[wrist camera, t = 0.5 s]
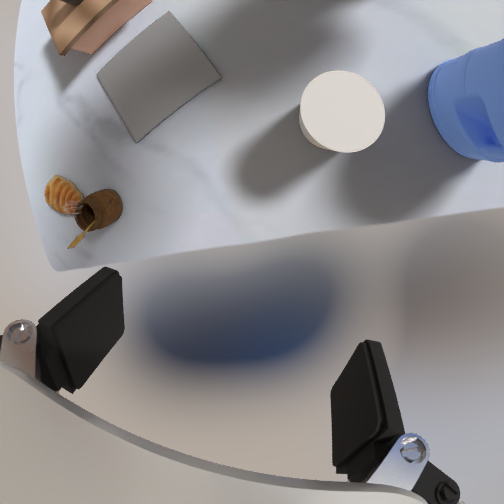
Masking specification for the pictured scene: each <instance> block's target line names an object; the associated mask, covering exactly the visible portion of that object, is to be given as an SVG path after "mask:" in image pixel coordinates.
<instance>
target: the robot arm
mask: <svg viewBox="0 0 504 504" xmlns="http://www.w3.org/2000/svg"><path fill="white" fill-rule="evenodd" d="M38 322H39V324H38V325H37V326H35V324H33V323H32V322H31V321H29V320H23V319H21V320H16V321H14V322H12V323H10V324H9V325H8V326H7V327H6V329H5V331H4V333H3V335H0V504H464V502H463V501H462V502H460V503H459V502H458V501H459V499H460V490H459V487H458V485H457V483H456V482H455V481H454V480H452V479H451V478H450V477H448V476H447V475H446V474H444V473H443V472H442V471H441V470H439V469H438V468H437V467H435V466H434V465H433V464H432V463H430V462H429V461H428V458H429V455H430V452H429V451H430V450H429V447H428V444H427V443H426V441H425V440H424V439H423V438H422V437H421V436H419V435H417V434H413V433H408V434H407V433H406V434H405V431H404V426H403V422H402V418H401V413H400V409H399V405H398V401H397V397H396V393H395V390H394V386H393V382H392V379H391V375H390V372H389V368H388V365H387V362H386V358H385V355H384V352H383V349H382V346H381V343H380V342H377V341H371V340H365V341H364V342H363V343H362V342H361V343H359V345H358V346H357V348H356V350H355V351H354V353H353V355H352V356H351V358H350V360H349V362H348V363H347V365H346V366H345V368H344V370H343V371H342V373H341V375H340V376H339V378H338V379H337V381H336V382H335V384H334V386H333V387H332V390H331V417H332V457H333V458H332V460H333V462H332V463H333V466H336V473H337V474H348V481H347V482H333V481H319V480H307V479H298V478H289V477H282V476H275V475H269V474H263V473H257V472H252V471H247V470H242V469H238V468H233V467H229V466H225V465H221V464H217V463H214V462H210V461H206V460H202V459H200V458H196V457H193V456H190V455H187V454H184V453H181V452H178V451H175V450H172V449H169V448H167V447H164V446H161V445H159V444H156V443H153V442H151V441H149V440H146V439H144V438H141V437H139V436H137V435H134V434H132V433H130V432H128V431H126V430H123V429H121V428H119V427H117V426H115V425H113V424H111V423H109V422H107V421H105V420H103V419H101V418H99V417H97V416H95V415H94V414H92V413H90V412H88V411H86V410H85V409H83V408H81V407H79V406H78V405H76V404H74V403H73V402H71V401H69V400H67V399H66V398H64V397H63V396H61V395H59V390H60V389H61V387H62V388H64V389H65V390H67V391H69V392H70V393H72V394H73V392H74V391H75V390H76V389H80V388H81V387H82V386H83V385H84V383H85V382H86V381H87V379H88V378H89V377H90V375H91V374H92V373H93V371H94V370H95V369H96V368H97V366H98V365H99V364H100V362H101V361H102V360H103V359H104V357H105V356H106V355H107V354H108V352H109V351H110V350H111V349H112V347H113V346H114V345H115V344H116V342H117V341H118V340H119V339H120V337H121V336H122V335H123V333H124V313H123V297H122V277H121V276H120V275H119V272H118V271H116V270H114V269H111V268H108V267H103V268H102V269H101V270H99V271H98V272H97V273H96V274H94V275H93V276H92V277H90V278H89V279H88V280H87V281H85V282H84V283H83V284H81V285H80V286H79V287H78V288H76V289H75V290H74V291H73V292H71V293H70V294H69V295H68V296H66V297H65V298H64V299H63V300H62V301H61V302H60V303H58V304H57V305H56V306H54V307H53V308H52V309H51V310H50V311H49V312H47V313H46V314H45V315H44V316H43V317H42V318H41V319H39V321H38Z"/></svg>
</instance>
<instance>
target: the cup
mask: <svg viewBox="0 0 504 504" xmlns="http://www.w3.org/2000/svg"><path fill="white" fill-rule="evenodd" d="M384 122H385V109H384V105H383V102H382V99H381V97H380V95H379V93H378V92H377V90H376V89H375V88H374V87H373V85H372V84H371V83H369V82H368V81H367V80H366V79H364V78H363V77H361V76H359V75H357V74H355V73H352V72H348V71H341V70H336V71H329V72H325V73H323V74H320V75H319V76H317V77H315V78H314V79H313V80H312V81H311V82H310V83H309V84H308V85H307V87H306V88H305V90H304V92H303V94H302V98H301V103H300V113H299V124H300V128H301V130H302V133H303V134H304V136H305V137H306V138H307V139H308V141H310V142H311V143H312V144H313V145H315V146H317V147H319V148H322V149H327V150H332V151H338V152H346V153H349V152H357V151H360V150H363V149H365V148H367V147H369V146H370V145H371V144H373V143H374V142H375V141H376V140H377V138H378V137H379V135H380V134H381V132H382V130H383V127H384Z"/></svg>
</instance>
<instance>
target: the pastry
mask: <svg viewBox="0 0 504 504" xmlns="http://www.w3.org/2000/svg"><path fill="white" fill-rule="evenodd" d="M45 198H46V202H47V203H48V205H50V206H51V207H52V208H54V209H55V210H56V211H59V212H61V213H64V214H72V213H74V211H75V210H74V209H75V208H74V207H76V205H75V204H77V203H78V201H81V200H82V199H84V198H83V195H82V193H81V192H80V191H79V190H78V189H77V188H76V186H75V184H74V183H72V182H70V181H69V180H67V179H66V178H64V177H61V176H59V175H55V176H54V177H53V178H52V179H51V180H50V182H49V183H48V184H47V186H46V189H45ZM69 201H70V202H69ZM72 202H74V203H72ZM65 204H66V205H65ZM68 204H71V205H68ZM64 205H65V206H64ZM67 205H68V206H67ZM66 206H67V207H66ZM63 207H64V208H63ZM65 208H66V211H65V212H66V213H65V212H64V211H63V210H64V209H65ZM69 208H70V209H69ZM67 210H69V211H67ZM68 212H69V213H68Z"/></svg>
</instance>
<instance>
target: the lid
mask: <svg viewBox="0 0 504 504" xmlns="http://www.w3.org/2000/svg"><path fill="white" fill-rule="evenodd" d="M118 1H119V0H50V2H49V3H48V4H47V5H46V6H45V7H44V9H43V10H42V11H41V12H42V15H43V17H44V20H45V22H46V25H47V27H48V30H49V32H50V34H51V37H52V39H53V41H54V44H55V46H56V48H57V50H58V52H59V55H64V56H65V54H66V53H67V52H68V51H69V50H70V49H71V47H72V46H73V45H74V44H75V43H76V42H77V41H78V40H79V38H80V37H81V36H82V35H83V34H84V33H85V32H86V31H87V30H88V29H89V28H90V27H91V26H92V25H93V24H94V23H95V22H96V21H97V20H98V19H99V18H100V17H101V16H102V15H103V14H104V13H105V12H107V11H108V10H109V9H110V8H111V7H112V6H113V5H114V4H115V3H117V2H118Z"/></svg>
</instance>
